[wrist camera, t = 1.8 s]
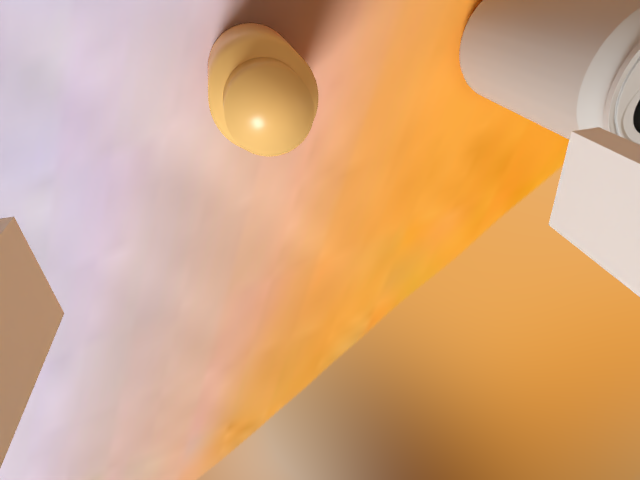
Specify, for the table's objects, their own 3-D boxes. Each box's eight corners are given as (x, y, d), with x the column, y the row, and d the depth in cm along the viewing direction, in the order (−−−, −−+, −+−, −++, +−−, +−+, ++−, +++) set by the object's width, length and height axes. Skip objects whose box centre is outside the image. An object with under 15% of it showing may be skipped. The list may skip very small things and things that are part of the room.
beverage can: (433, 68, 26) (567, 136, 17) (497, -46, 24) (703, -46, 14) (507, 111, 29) (663, 191, 19) (573, 12, 26) (792, 46, 17)
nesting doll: (217, 119, 25) (221, 177, 19) (198, 27, 23) (196, 57, 16) (299, 108, 26) (331, 160, 20) (291, 18, 23) (324, 42, 17)
